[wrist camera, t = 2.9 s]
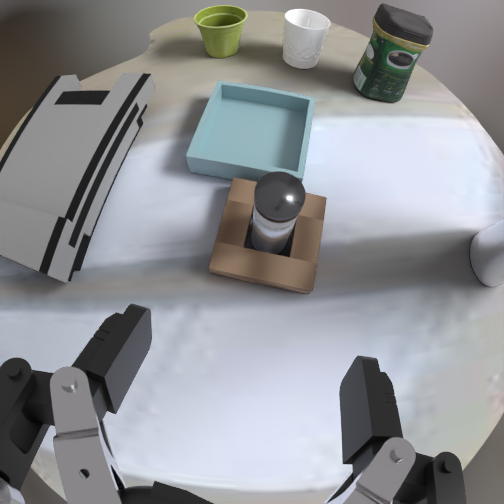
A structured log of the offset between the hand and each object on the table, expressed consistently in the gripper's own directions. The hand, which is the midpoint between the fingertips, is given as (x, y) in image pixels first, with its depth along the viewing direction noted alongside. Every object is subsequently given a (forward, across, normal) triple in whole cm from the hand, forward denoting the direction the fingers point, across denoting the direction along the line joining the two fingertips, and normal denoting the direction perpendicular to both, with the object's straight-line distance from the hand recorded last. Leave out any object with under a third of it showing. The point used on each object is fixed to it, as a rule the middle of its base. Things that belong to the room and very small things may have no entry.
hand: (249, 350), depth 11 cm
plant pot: (+52, +16, -17) cm, 58 cm away
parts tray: (+37, +5, -2) cm, 38 cm away
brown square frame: (+27, 0, +8) cm, 28 cm away
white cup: (+53, +1, -18) cm, 56 cm away
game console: (+30, +33, +6) cm, 45 cm away
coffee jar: (+51, -14, -16) cm, 55 cm away
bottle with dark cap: (+27, 0, +8) cm, 28 cm away
